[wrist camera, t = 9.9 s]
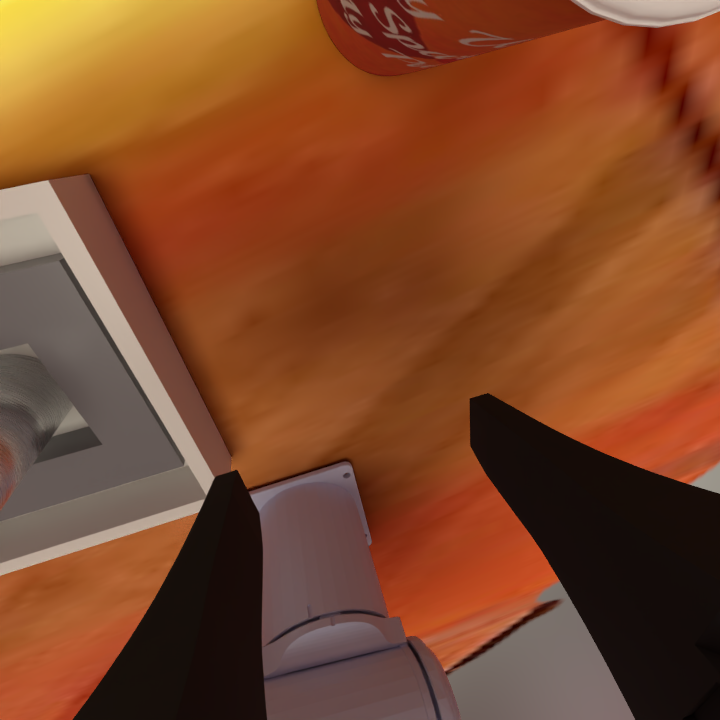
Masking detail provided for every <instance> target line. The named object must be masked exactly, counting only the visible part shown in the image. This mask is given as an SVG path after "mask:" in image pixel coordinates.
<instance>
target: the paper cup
mask: <svg viewBox="0 0 720 720" xmlns="http://www.w3.org/2000/svg"><path fill="white" fill-rule="evenodd" d="M317 5H318V9H319V12H320V16H321V19H322V21H323V24H324V26H325V28H326V31H327V33H328V35H329V36H330V38H331V40H332V42H333V43H334V45H335V46H336V47H337V49H338V50H339V51H340V52H341V54H342V55H343V56H344V57H345V58H346V59H347V60H348V61H350V62H351V63H352V64H353V65H355V66H356V67H358V68H360V69H362V70H364V71H366V72H368V73H372V74H375V75H380V76H394V75H402V74H406V73H411V72H416V71H420V70H423V69H427V68H431V67H435V66H439V65H443V64H446V63H450V62H454V61H457V60H461V59H465V58H469V57H472V56H476V55H480V54H483V53H487V52H490V51H494V50H498V49H501V48H505V47H508V46H512V45H515V44H519V43H523V42H526V41H530V40H533V39H537V38H541V37H544V36H548V35H551V34H555V33H559V32H562V31H566V30H569V29H573V28H577V27H580V26H584V25H587V24H591V23H595V22H598V21H602V20H605V19H607V20H610V21H613V22H616V23H618V24H621V25H628V26H641V27H655V28H658V27H664V26H670V25H676V24H682V23H687V22H693V21H696V20H699V19H701V18H704V17H706V16H709V15H711V14H714V13H716V12H719V11H720V0H317Z"/></svg>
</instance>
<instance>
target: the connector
mask: <svg viewBox="0 0 720 720" xmlns="http://www.w3.org/2000/svg"><path fill="white" fill-rule="evenodd" d="M72 407H73V404H72V402H71V401H70V400H69V398H68V397H67V396H66V394H65V393H64V392H63V390H62V389H61V388H60V386H59V385H58V384H57V382H56V381H55V380H54V378H53V377H52V375H51V374H50V373H49V371H48V370H47V369H46V367H45V366H44V365H43V363H42V362H41V361H40V359H38V358H35V357H31V356H27V355H20V354H3V355H0V511H1V509H2V508H3V506H4V505H5V503H6V502H7V500H8V499H9V498H10V496H11V495H12V493H13V492H14V490H15V489H16V488H17V486H18V485H19V483H20V482H21V480H22V479H23V478H24V476H25V475H26V473H27V472H28V470H29V469H30V467H31V466H32V465H33V463H34V462H35V460H36V459H37V457H38V456H39V455H40V453H41V452H42V450H43V449H44V447H45V446H46V444H47V443H48V442H49V440H50V439H51V437H52V436H53V434H54V433H55V432H56V430H57V429H58V427H59V426H60V424H61V423H62V422H63V420H64V419H65V417H66V416H67V414H68V413H69V411H70V410H71V408H72Z"/></svg>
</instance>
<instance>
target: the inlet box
mask: <svg viewBox="0 0 720 720" xmlns="http://www.w3.org/2000/svg"><path fill="white" fill-rule="evenodd" d="M3 354H20V355H27V356H31V357H35V358H38V359H40V361H41V362H42V363H43V365H44V366H45V367H46V369H47V370H48V371H49V373H50V374H51V375H52V377H53V378H54V380H55V381H56V382H57V384H58V385H59V386H60V388H61V389H62V390H63V392H64V393H65V394H66V396H67V397H68V398H69V400H70V401H71V402H72V404H73V407H72V408H71V410H70V411H69V413H68V414H67V416H66V417H65V419H64V420H63V422H62V423H61V424H60V426H59V427H58V429H57V430H56V432H55V433H54V434H53V436H52V437H51V439H50V440H49V442H48V443H47V444H46V446H45V447H44V449H43V450H42V452H41V453H40V455H39V456H38V457H37V459H36V460H35V462H34V463H33V465H32V466H31V467H30V469H29V470H28V472H27V473H26V475H25V476H24V478H23V479H22V480H21V482H20V483H19V485H18V486H17V488H16V489H15V490H14V492H13V493H12V495H11V496H10V498H9V499H8V500H7V502H6V503H5V505H4V506H3V508H2V509H1V511H0V575H3V574H7V573H10V572H13V571H16V570H19V569H22V568H25V567H28V566H32V565H35V564H38V563H41V562H44V561H47V560H50V559H54V558H57V557H60V556H63V555H66V554H69V553H72V552H76V551H79V550H82V549H85V548H88V547H91V546H94V545H98V544H101V543H104V542H107V541H110V540H113V539H116V538H120V537H123V536H126V535H129V534H132V533H135V532H138V531H142V530H145V529H148V528H151V527H154V526H157V525H160V524H163V523H167V522H170V521H173V520H176V519H179V518H182V517H185V516H189V515H192V514H195V513H198V512H199V511H200V509H201V507H202V505H203V502H204V500H205V498H206V496H207V493H208V491H209V489H210V487H211V484H212V482H213V480H214V478H215V477H216V476H218V475H222V474H225V473H228V472H231V459H232V457H231V455H230V453H229V451H228V449H227V447H226V445H225V443H224V441H223V439H222V437H221V435H220V433H219V431H218V429H217V427H216V425H215V423H214V421H213V419H212V417H211V415H210V414H209V412H208V410H207V408H206V406H205V404H204V402H203V400H202V398H201V396H200V394H199V392H198V390H197V388H196V386H195V384H194V382H193V380H192V378H191V376H190V374H189V372H188V370H187V368H186V366H185V364H184V362H183V360H182V358H181V356H180V354H179V352H178V350H177V348H176V346H175V344H174V342H173V340H172V338H171V336H170V334H169V332H168V330H167V328H166V326H165V324H164V322H163V320H162V318H161V316H160V314H159V312H158V310H157V308H156V306H155V304H154V302H153V300H152V298H151V296H150V294H149V292H148V290H147V288H146V286H145V284H144V282H143V280H142V278H141V276H140V274H139V272H138V270H137V268H136V266H135V264H134V262H133V260H132V258H131V256H130V254H129V252H128V250H127V248H126V246H125V244H124V242H123V240H122V238H121V236H120V234H119V232H118V230H117V228H116V226H115V224H114V222H113V220H112V218H111V216H110V214H109V212H108V211H107V209H106V207H105V205H104V203H103V201H102V199H101V197H100V195H99V193H98V191H97V189H96V187H95V185H94V183H93V181H92V179H91V177H90V175H89V174H85V175H78V176H72V177H66V178H59V179H53V180H47V181H42V182H37V183H32V184H27V185H22V186H17V187H12V188H7V189H2V190H0V355H3Z"/></svg>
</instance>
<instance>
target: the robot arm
mask: <svg viewBox="0 0 720 720" xmlns="http://www.w3.org/2000/svg"><path fill="white" fill-rule="evenodd" d="M470 446H471V448H472V450H473V452H474V453H475V455H476V457H477V459H478V461H479V462H480V464H481V466H482V468H483V469H484V471H485V473H486V474H487V476H488V477H489V479H490V480H491V482H492V483H493V484H494V486H495V487H496V488H497V490H498V491H499V493H500V494H501V495H502V497H503V498H504V499H505V501H506V502H507V503H508V505H509V506H510V507H511V509H512V510H513V512H514V513H515V514H516V516H517V517H518V518H519V520H520V521H521V522H522V524H523V525H524V526H525V528H526V529H527V530H528V532H529V533H530V535H531V536H532V537H533V539H534V540H535V542H536V543H537V545H538V546H539V548H540V549H541V551H542V552H543V554H544V555H545V557H546V559H547V560H548V562H549V564H550V565H551V567H552V569H553V570H554V572H555V574H556V575H557V577H558V579H559V580H560V582H561V584H562V585H563V587H564V588H565V590H566V592H567V594H568V596H569V597H570V599H571V601H572V603H573V604H574V606H575V608H576V609H577V611H578V613H579V615H580V616H581V618H582V620H583V622H584V623H585V625H586V627H587V629H588V631H589V633H590V634H591V636H592V638H593V640H594V642H595V643H596V645H597V647H598V649H599V651H600V652H601V654H602V656H603V658H604V660H605V662H606V663H607V666H608V667H609V669H610V671H611V673H612V675H613V677H614V679H615V681H616V683H617V685H618V687H619V689H620V691H621V692H622V694H623V696H624V698H625V700H626V702H627V704H628V706H629V708H630V710H631V712H632V714H633V716H634V718H635V720H720V494H719V493H715V492H712V491H708V490H705V489H702V488H698V487H695V486H692V485H689V484H686V483H683V482H680V481H677V480H674V479H671V478H668V477H665V476H662V475H659V474H656V473H653V472H650V471H648V470H645V469H642V468H639V467H637V466H634V465H632V464H629V463H627V462H624V461H622V460H619V459H617V458H614V457H612V456H609V455H607V454H605V453H602V452H600V451H598V450H595V449H593V448H591V447H589V446H587V445H585V444H583V443H580V442H578V441H576V440H574V439H572V438H570V437H568V436H566V435H564V434H562V433H560V432H558V431H556V430H554V429H552V428H550V427H548V426H546V425H544V424H543V423H541V422H539V421H537V420H535V419H533V418H531V417H530V416H528V415H526V414H524V413H523V412H521V411H519V410H517V409H515V408H514V407H512V406H510V405H508V404H507V403H505V402H503V401H501V400H499V399H498V398H496V397H494V396H492V395H490V394H489V393H487V394H484V395H480V396H477V397H474V398H471V399H470ZM345 473H347V474H345ZM371 543H372V540H371V536H370V532H369V529H368V525H367V521H366V517H365V513H364V510H363V506H362V502H361V498H360V495H359V491H358V487H357V483H356V480H355V476H354V472H353V468H352V465H351V463H349V462H346V461H345V462H341V463H338V464H335V465H332V466H328V467H325V468H322V469H319V470H316V471H313V472H309V473H306V474H303V475H300V476H297V477H294V478H291V479H287V480H284V481H281V482H278V483H275V484H272V485H268V486H265V487H262V488H259V489H256V490H253V491H250V492H248V490H247V488H246V486H245V484H244V482H243V480H242V478H241V476H240V474H239V473H238V471H237V470H235V471H232V472H228V473H225V474H222V475H218V476H216V477H215V478H214V480H213V482H212V484H211V487H210V489H209V491H208V493H207V496H206V498H205V500H204V502H203V505H202V507H201V509H200V511H199V513H198V516H197V518H196V520H195V522H194V524H193V526H192V528H191V530H190V532H189V535H188V537H187V539H186V541H185V543H184V545H183V547H182V549H181V551H180V553H179V555H178V557H177V559H176V560H175V562H174V564H173V566H172V568H171V570H170V572H169V573H168V575H167V577H166V579H165V581H164V583H163V584H162V586H161V588H160V590H159V592H158V593H157V595H156V597H155V599H154V600H153V602H152V604H151V605H150V607H149V609H148V610H147V612H146V614H145V615H144V617H143V619H142V620H141V622H140V623H139V625H138V626H137V628H136V630H135V631H134V633H133V634H132V636H131V638H130V639H129V641H128V642H127V644H126V645H125V647H124V648H123V650H122V651H121V653H120V654H119V656H118V657H117V658H116V660H115V661H114V663H113V664H112V666H111V667H110V669H109V670H108V672H107V673H106V675H105V676H104V678H103V679H102V680H101V682H100V683H99V685H98V686H97V687H96V689H95V690H94V692H93V693H92V694H91V696H90V697H89V699H88V700H87V701H86V703H85V704H84V705H83V707H82V708H81V709H80V710H79V712H78V713H77V714H76V716H75V717H74V718H73V720H461V717H460V713H459V709H458V706H457V703H456V700H455V697H454V694H453V691H452V688H451V685H450V683H449V680H448V678H447V676H446V674H445V671H444V669H443V667H442V665H441V664H440V662H439V660H438V659H437V657H436V656H435V654H434V653H433V652H432V651H431V650H430V649H429V648H428V647H427V646H426V645H425V644H424V643H423V642H422V640H420V639H419V638H418V637H416V636H410V637H406V636H405V633H404V630H403V626H402V623H401V620H400V617H393V618H389V615H388V611H387V608H386V604H385V601H384V597H383V594H382V591H381V587H380V584H379V580H378V577H377V573H376V570H375V567H374V563H373V560H372V556H371V553H370V549H369V545H371Z"/></svg>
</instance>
